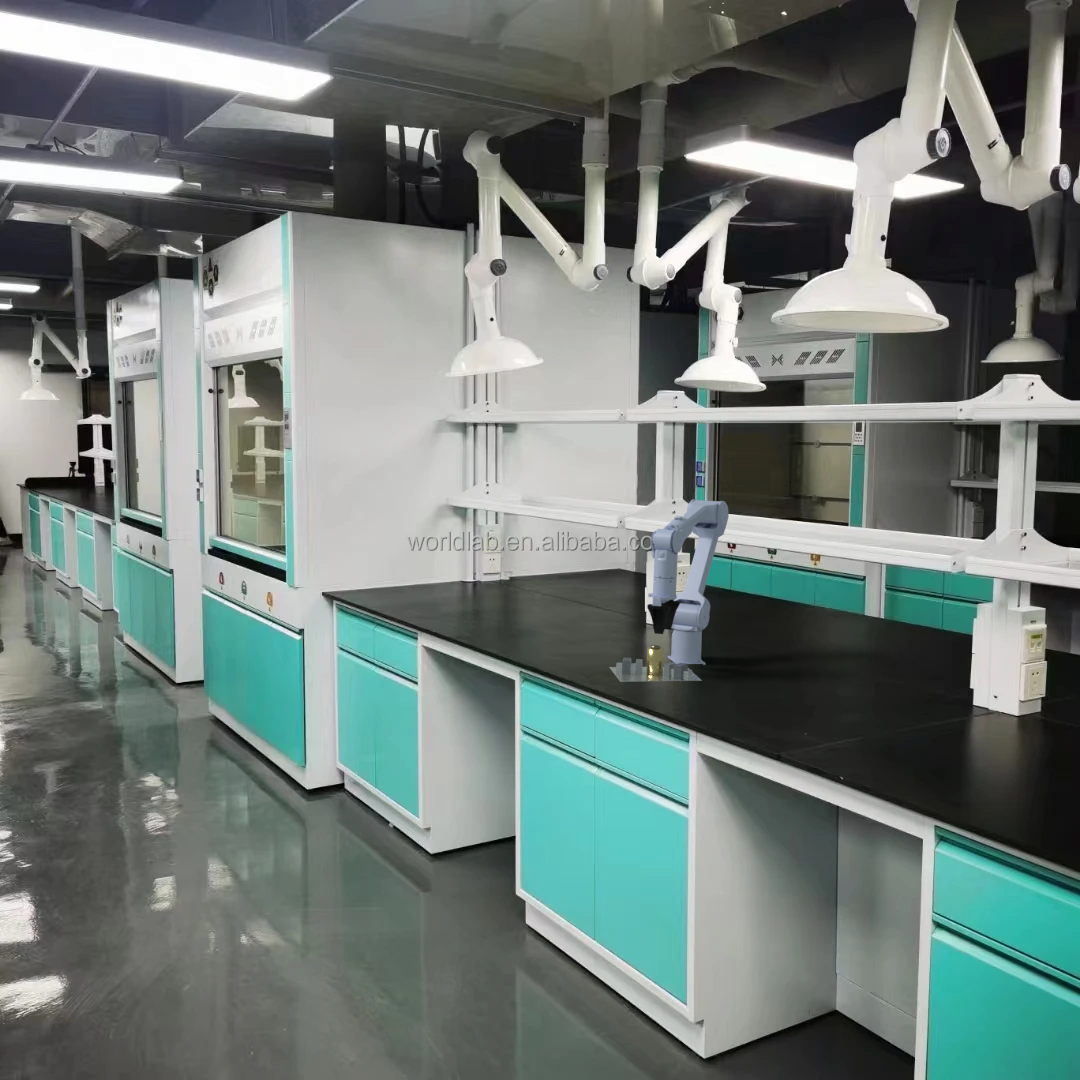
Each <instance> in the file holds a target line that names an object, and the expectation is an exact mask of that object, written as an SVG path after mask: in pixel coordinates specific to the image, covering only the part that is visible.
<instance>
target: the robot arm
mask: <svg viewBox="0 0 1080 1080" xmlns="http://www.w3.org/2000/svg"><path fill="white" fill-rule="evenodd" d="M686 507H687V508H686V512H685V513H684V514H683V516H682V515H676V516H675V517H674V518H673V519H672V520H671V521H669V523H668V524H666V525H665V526H664V527H663V528H657V529H656V530H654V531H653V532H652V534H651V539H650V548H651V552H652V554H651V556H652V559H654V561H653V584H652V588H653V589H652V593H648V595H647V596H648V598H652V603H649V604H647V605H646V607H647V608H646V609H647V610H648V612H649V614H650V617H651V622H652V628H653V632H654V634H656V635H664V633H665V630H672V629H673V632H672V634H671V649H670V650H671V654H670V655H667V658H668V659H669V660H671V662H673V663H675V665H676V664H678V663H687V664H688V665H695V664H696V665H700V664H702V665H703V666H705V665H707V664H706V662H705V661H703V660H702V640H703V639H702V635H703V630H705V629H706V628H707V626H708V625H709V621H710V612H711V603H710V601H709V600H708V598H707V597H705V595H704V592H705V589H706V585H707V581H708V578H709V574H710V572H711V571H710V570H711V568H712V567H711V566H712V563H713V559H714V555H715V552H716V548H717V544H718V541H719V538H720V537H722V536H724V535H725V531H726V528H727V524H728V521H729V507H728V504H727V503H726V501H724V500H720V501H718V500H717V501H716V500H701V499H694V498H693V499H691V500H690V502H688V504H687V506H686ZM692 533H693V534H695V535H696V536H697V537H698V540H697V544H696V548H695V551H694V555H693V558H692V561H691V566H690V568H689V569H690V570H689V572H688V576H687V579H686V584H685V585H684V590H683V591H681V592H679V593H677V579H678V577H677V576H678V558H679V557H678V554H679V553H680V552H681V550H682V549H683V544H684V542H685V540H686V539H687V538H688V537H689V536H691V535H692Z"/></svg>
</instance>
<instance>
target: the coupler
mask: <svg viewBox="0 0 1080 1080" xmlns="http://www.w3.org/2000/svg"><path fill="white" fill-rule="evenodd" d="M646 649H647V650H646V667H647V675H650V676H661V675H663V667H664V647H661V645H659V644H651V645H650V646H648V647H646Z"/></svg>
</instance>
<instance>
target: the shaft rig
mask: <svg viewBox="0 0 1080 1080" xmlns="http://www.w3.org/2000/svg"><path fill="white" fill-rule="evenodd" d="M643 661H644V660H643V659H641V658H636V659H635V662H632V657H623V658H622V661H621V662H616V663H615V665H616V666H609V667H608V668H609V669H610V670H611V671H612V673H613V674H614V676H615V677H616V678H617V679H618V681H619V682H620V683H622V682H625V683H626V682H628V683H629V682H686V681H687V682H689V681H690V682H695V681H696V682H699V681H700V682H701V681H703V680H702V679H701V678H700V677H699V676H698V675H697V674H695V672H693V669H690V668H689V664H687V663H678V664H675V663H674V662H673V661H670V662H667V663H663V675H661V676H650V675H647V666H643Z"/></svg>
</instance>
